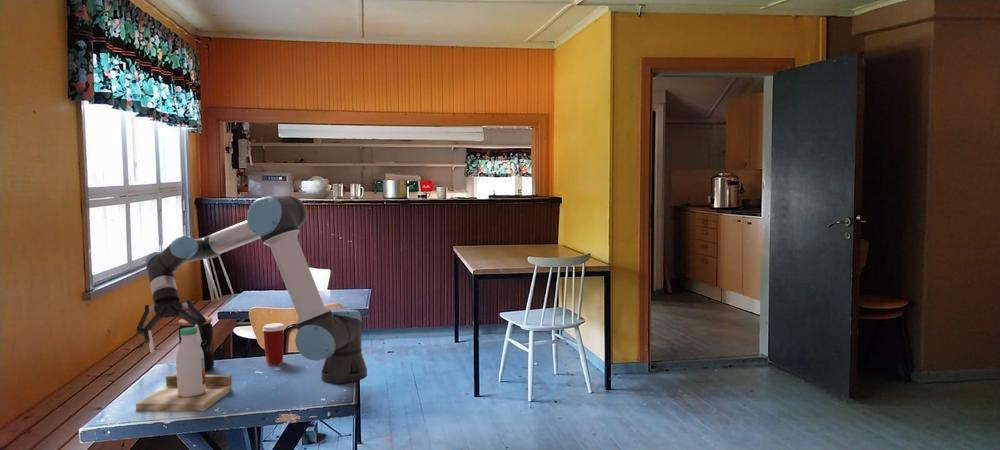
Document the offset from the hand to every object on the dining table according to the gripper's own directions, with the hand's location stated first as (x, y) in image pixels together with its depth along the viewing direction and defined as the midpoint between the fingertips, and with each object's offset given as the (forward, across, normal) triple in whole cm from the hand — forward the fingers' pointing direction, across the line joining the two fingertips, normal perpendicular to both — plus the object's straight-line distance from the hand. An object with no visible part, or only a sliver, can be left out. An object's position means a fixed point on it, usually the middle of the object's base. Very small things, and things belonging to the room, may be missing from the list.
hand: (176, 346), depth 202 cm
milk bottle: (+17, -2, 0) cm, 17 cm away
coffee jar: (-4, -10, -25) cm, 27 cm away
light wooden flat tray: (+17, 0, -3) cm, 18 cm away
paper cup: (+2, -34, -19) cm, 39 cm away
